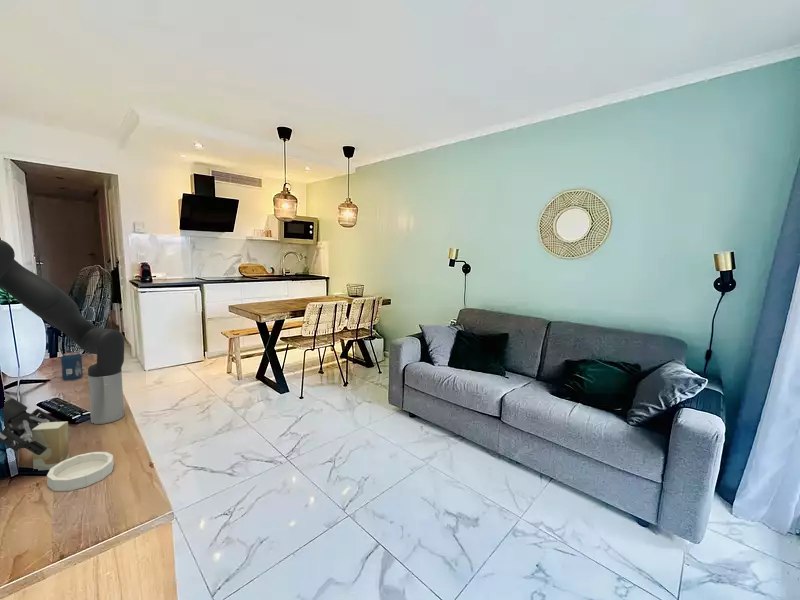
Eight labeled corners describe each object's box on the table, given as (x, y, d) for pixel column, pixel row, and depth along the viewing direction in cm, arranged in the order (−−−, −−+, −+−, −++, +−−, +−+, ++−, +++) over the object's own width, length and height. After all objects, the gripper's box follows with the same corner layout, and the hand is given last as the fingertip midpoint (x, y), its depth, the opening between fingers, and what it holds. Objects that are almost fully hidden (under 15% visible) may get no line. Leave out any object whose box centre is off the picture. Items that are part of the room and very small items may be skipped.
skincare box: (32, 471, 96) (29, 429, 95) (43, 462, 100) (40, 422, 99) (61, 469, 98) (58, 427, 96) (71, 460, 102) (68, 420, 101)
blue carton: (66, 376, 165) (64, 352, 164) (85, 375, 168) (83, 351, 167) (59, 381, 159) (57, 356, 158) (79, 380, 162) (77, 355, 161)
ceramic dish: (39, 480, 93) (38, 470, 92) (98, 456, 104) (98, 447, 104) (62, 497, 87) (61, 486, 87) (122, 470, 99) (122, 460, 98)
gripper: (-13, 409, 87) (48, 447, 92) (26, 388, 101) (78, 422, 106) (-40, 432, 86) (24, 468, 91) (4, 408, 100) (57, 441, 105)
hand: (53, 443), depth 99 cm, fingers open, 8 cm apart
